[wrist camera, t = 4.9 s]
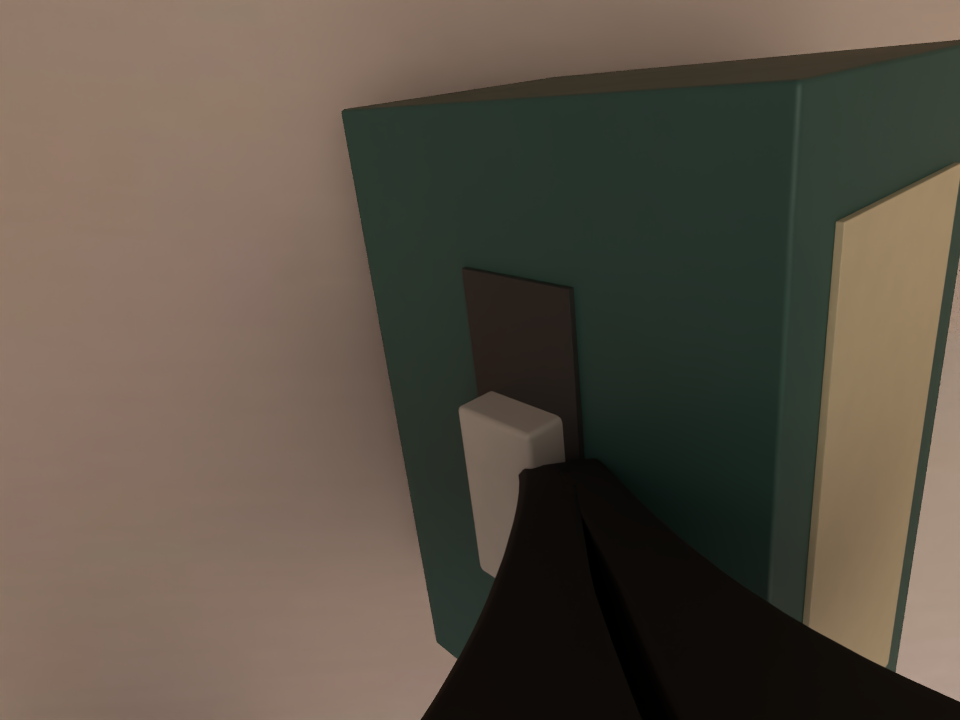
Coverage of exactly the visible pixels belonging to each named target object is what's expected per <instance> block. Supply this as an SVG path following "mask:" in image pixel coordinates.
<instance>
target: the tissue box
mask: <svg viewBox="0 0 960 720" xmlns="http://www.w3.org/2000/svg"><path fill="white" fill-rule="evenodd" d="M342 119H343V124H344V130H345V135H346V141H347V146H348V152H349V157H350V163H351V169H352V174H353V180H354V185H355V191H356V196H357V202H358V207H359V213H360V218H361V224H362V230H363V235H364V241H365V246H366V252H367V257H368V263H369V268H370V274H371V280H372V285H373V291H374V296H375V302H376V307H377V313H378V318H379V324H380V330H381V335H382V341H383V346H384V352H385V357H386V363H387V368H388V374H389V380H390V385H391V391H392V396H393V402H394V407H395V413H396V418H397V424H398V429H399V435H400V441H401V446H402V452H403V457H404V463H405V468H406V474H407V479H408V485H409V491H410V496H411V502H412V507H413V513H414V518H415V524H416V529H417V535H418V541H419V546H420V552H421V557H422V563H423V568H424V574H425V579H426V585H427V591H428V596H429V602H430V607H431V613H432V618H433V624H434V629H435V635H436V640H437V642H438V643H439V644H440V645H441V646H442V647H444V648H445V649H446V650H447V651H448V652H450V653H451V654H452V655H453V656H454V657H456V658H457V659H458V658H459V656H460V654H461V652H462V650H463V648H464V647H465V645H466V643H467V641H468V639H469V637H470V635H471V633H472V631H473V629H474V627H475V625H476V623H477V620H478V618H479V616H480V614H481V612H482V610H483V607H484V605H485V603H486V600H487V598H488V596H489V593H490V590H491V588H492V585H493V583H494V580H495V577H496V575H497V572H498V570H499V567H500V564H501V562H502V559H503V556H504V553H505V549H506V546H507V542H508V539H509V535H510V532H511V528H512V525H513V521H514V516H515V512H516V507H517V501H518V494H519V476H518V475H519V474H520V472H521V471H522V470H524V469H525V468H526V469H533V468H537V467H539V466H542V465H546V464H554V463H562V462H569V461H577V460H584V459H592V458H593V459H598V460H599V461H600V462H601V463H603V464H604V465H605V466H606V467H607V468H608V469H609V470H610V471H611V472H612V473H613V474H614V475H615V476H616V477H617V478H618V479H619V480H620V481H621V483H622V484H623V485H624V486H625V487H626V488H627V489H628V490H629V491H630V492H631V493H632V494H634V495H635V496H636V497H637V498H638V499H639V500H640V501H641V502H642V503H643V504H644V505H645V506H646V507H647V508H648V509H649V510H650V511H651V512H652V513H653V514H655V515H656V516H657V517H658V518H659V519H660V520H661V521H662V522H664V523H665V524H666V525H667V526H668V527H669V528H670V529H672V530H673V531H674V532H675V533H676V534H677V535H678V536H680V537H681V538H682V539H683V540H684V541H685V542H687V543H688V544H689V545H690V546H691V547H693V548H694V549H695V550H696V551H698V552H699V553H700V554H701V555H703V556H704V557H705V558H706V559H708V560H709V561H710V562H712V563H713V564H714V565H716V566H717V567H718V568H719V569H721V570H722V571H723V572H725V573H726V574H727V575H729V576H730V577H731V578H733V579H734V580H736V581H737V582H738V583H740V584H741V585H743V586H744V587H746V588H747V589H749V590H750V591H752V592H753V593H755V594H756V595H758V596H760V597H761V598H763V599H764V600H766V601H767V602H769V603H770V604H772V605H773V606H775V607H777V608H778V609H780V610H781V611H783V612H784V613H786V614H788V615H789V616H791V617H793V618H794V619H796V620H798V621H799V622H801V623H803V624H805V625H806V626H808V627H810V628H811V629H813V630H815V631H817V632H819V633H820V634H822V635H824V636H826V637H828V638H830V639H832V640H833V641H835V642H837V643H839V644H841V645H843V646H844V647H846V648H848V649H850V650H852V651H854V652H856V653H857V654H859V655H861V656H863V657H865V658H867V659H869V660H871V661H873V662H875V663H877V664H879V665H881V666H883V667H885V668H887V669H889V670H891V671H893V672H896V665H897V659H898V652H899V646H900V639H901V633H902V626H903V620H904V613H905V607H906V600H907V594H908V587H909V581H910V574H911V568H912V561H913V555H914V548H915V542H916V535H917V529H918V522H919V516H920V509H921V503H922V496H923V490H924V484H925V477H926V471H927V464H928V458H929V451H930V445H931V438H932V432H933V425H934V419H935V412H936V406H937V399H938V393H939V386H940V380H941V373H942V367H943V360H944V354H945V347H946V341H947V334H948V328H949V321H950V315H951V308H952V302H953V295H954V289H955V283H956V276H957V270H958V263H959V257H960V40H953V41H942V42H932V43H921V44H910V45H899V46H888V47H877V48H866V49H855V50H844V51H834V52H823V53H812V54H801V55H790V56H779V57H768V58H757V59H746V60H736V61H725V62H714V63H703V64H692V65H681V66H670V67H659V68H648V69H638V70H627V71H616V72H605V73H594V74H583V75H572V76H561V77H553V78H546V79H540V80H533V81H527V82H520V83H514V84H507V85H500V86H494V87H487V88H481V89H474V90H468V91H461V92H454V93H448V94H441V95H435V96H428V97H421V98H415V99H408V100H402V101H395V102H389V103H382V104H375V105H369V106H362V107H356V108H349V109H344V110H343V111H342Z"/></svg>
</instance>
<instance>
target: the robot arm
mask: <svg viewBox="0 0 960 720" xmlns="http://www.w3.org/2000/svg"><path fill="white" fill-rule="evenodd" d="M518 476H519V494H518V501H517V507H516V512H515V516H514V521H513V525H512V528H511V532H510V535H509V539H508V542H507V546H506V549H505V553H504V556H503V559H502V562H501V564H500V567H499V570H498V572H497V575H496V577H495V580H494V583H493V585H492V588H491V590H490V593H489V596H488V598H487V600H486V603H485V605H484V607H483V610H482V612H481V614H480V616H479V618H478V620H477V623H476V625H475V627H474V629H473V631H472V633H471V635H470V637H469V639H468V641H467V643H466V645H465V647H464V648H463V650H462V652H461V654H460V656H459V658H458V659H457V661H456V663H455V665H454V666H453V668H452V670H451V671H450V673H449V675H448V677H447V678H446V680H445V682H444V684H443V685H442V687H441V689H440V690H439V692H438V694H437V695H436V697H435V698H434V700H433V702H432V703H431V705H430V706H429V708H428V709H427V711H426V712H425V714H424V716H423V717H422V719H421V720H960V702H959V701H956V700H954V699H952V698H950V697H948V696H945V695H943V694H941V693H939V692H937V691H934V690H932V689H930V688H928V687H925V686H923V685H921V684H919V683H917V682H914V681H912V680H910V679H908V678H906V677H904V676H901V675H899V674H897V673H895V672H893V671H891V670H889V669H887V668H885V667H883V666H881V665H879V664H877V663H875V662H873V661H871V660H869V659H867V658H865V657H863V656H861V655H859V654H857V653H856V652H854V651H852V650H850V649H848V648H846V647H844V646H843V645H841V644H839V643H837V642H835V641H833V640H832V639H830V638H828V637H826V636H824V635H822V634H820V633H819V632H817V631H815V630H813V629H811V628H810V627H808V626H806V625H805V624H803V623H801V622H799V621H798V620H796V619H794V618H793V617H791V616H789V615H788V614H786V613H784V612H783V611H781V610H780V609H778V608H777V607H775V606H773V605H772V604H770V603H769V602H767V601H766V600H764V599H763V598H761V597H760V596H758V595H756V594H755V593H753V592H752V591H750V590H749V589H747V588H746V587H744V586H743V585H741V584H740V583H738V582H737V581H736V580H734V579H733V578H731V577H730V576H729V575H727V574H726V573H725V572H723V571H722V570H721V569H719V568H718V567H717V566H716V565H714V564H713V563H712V562H710V561H709V560H708V559H706V558H705V557H704V556H703V555H701V554H700V553H699V552H698V551H696V550H695V549H694V548H693V547H691V546H690V545H689V544H688V543H687V542H685V541H684V540H683V539H682V538H681V537H680V536H678V535H677V534H676V533H675V532H674V531H673V530H672V529H670V528H669V527H668V526H667V525H666V524H665V523H664V522H662V521H661V520H660V519H659V518H658V517H657V516H656V515H655V514H653V513H652V512H651V511H650V510H649V509H648V508H647V507H646V506H645V505H644V504H643V503H642V502H641V501H640V500H639V499H638V498H637V497H636V496H635V495H634V494H632V493H631V492H630V491H629V490H628V489H627V488H626V487H625V486H624V485H623V484H622V483H621V481H620V480H619V479H618V478H617V477H616V476H615V475H614V474H613V473H612V472H611V471H610V470H609V469H608V468H607V467H606V466H605V465H604V464H603V463H601V462H600V461H599V460H598V459H593V458H592V459H584V460H577V461H569V462H562V463H554V464H546V465H542V466H539V467H537V468H533V469H526V468H525V469H524V470H522V471H521V472H520V474H519V475H518Z"/></svg>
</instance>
